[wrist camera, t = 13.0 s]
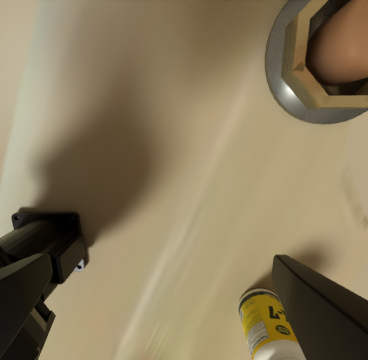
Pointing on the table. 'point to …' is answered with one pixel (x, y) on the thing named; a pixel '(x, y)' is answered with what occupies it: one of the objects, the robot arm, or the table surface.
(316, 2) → the holder
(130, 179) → the table surface
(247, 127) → the table surface
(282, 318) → the supplement bottle
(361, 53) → the vase
